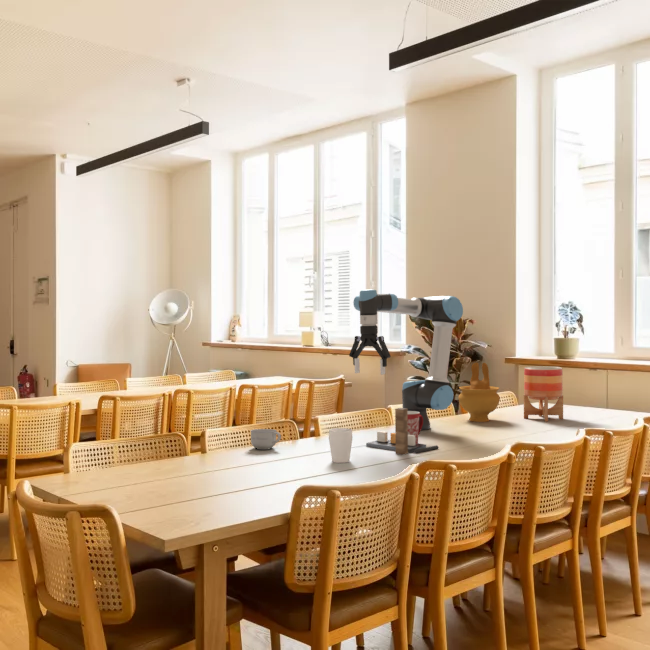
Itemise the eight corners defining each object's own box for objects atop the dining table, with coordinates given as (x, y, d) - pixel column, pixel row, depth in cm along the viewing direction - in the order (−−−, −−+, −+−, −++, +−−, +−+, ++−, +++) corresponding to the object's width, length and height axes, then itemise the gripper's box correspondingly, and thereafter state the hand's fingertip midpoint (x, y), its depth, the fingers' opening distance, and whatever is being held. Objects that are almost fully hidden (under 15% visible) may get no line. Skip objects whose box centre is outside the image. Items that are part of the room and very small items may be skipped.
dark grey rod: (436, 448, 297) (436, 444, 297) (439, 448, 296) (439, 445, 296) (413, 453, 287) (413, 449, 287) (416, 453, 286) (416, 450, 286)
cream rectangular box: (407, 444, 297) (407, 434, 297) (415, 445, 294) (415, 435, 294) (404, 444, 295) (404, 435, 295) (412, 445, 293) (412, 436, 293)
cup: (325, 460, 275) (325, 428, 275) (346, 457, 279) (346, 427, 279) (334, 464, 267) (334, 432, 267) (356, 462, 270) (356, 430, 270)
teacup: (245, 448, 299) (245, 429, 299) (264, 445, 307) (264, 426, 307) (268, 453, 289) (267, 433, 289) (287, 449, 297) (287, 430, 297)
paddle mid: (393, 442, 301) (393, 432, 301) (401, 443, 299) (401, 433, 299) (390, 442, 300) (390, 433, 300) (398, 443, 297) (398, 434, 297)
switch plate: (382, 442, 311) (382, 438, 311) (426, 448, 297) (426, 444, 297) (366, 446, 302) (366, 442, 302) (410, 452, 288) (410, 448, 288)
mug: (409, 446, 301) (409, 414, 301) (394, 443, 309) (394, 412, 308) (430, 442, 309) (430, 411, 309) (415, 440, 316) (415, 409, 316)
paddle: (379, 440, 306) (379, 431, 306) (387, 441, 303) (387, 431, 303) (377, 440, 304) (377, 431, 304) (384, 442, 302) (384, 432, 302)
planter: (521, 415, 386) (521, 366, 386) (559, 416, 383) (559, 366, 383) (526, 421, 366) (526, 369, 366) (566, 421, 364) (566, 369, 363)
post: (400, 452, 289) (400, 407, 289) (407, 453, 287) (407, 408, 286) (395, 453, 286) (395, 408, 286) (402, 454, 284) (402, 409, 284)
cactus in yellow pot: (451, 421, 369) (451, 363, 368) (468, 416, 386) (468, 360, 385) (490, 424, 357) (490, 364, 356) (506, 419, 374) (505, 362, 373)
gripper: (340, 325, 316) (341, 373, 317) (388, 325, 301) (389, 375, 301) (350, 324, 322) (351, 371, 323) (397, 324, 306) (398, 374, 307)
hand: (369, 373), depth 312 cm, fingers open, 13 cm apart
